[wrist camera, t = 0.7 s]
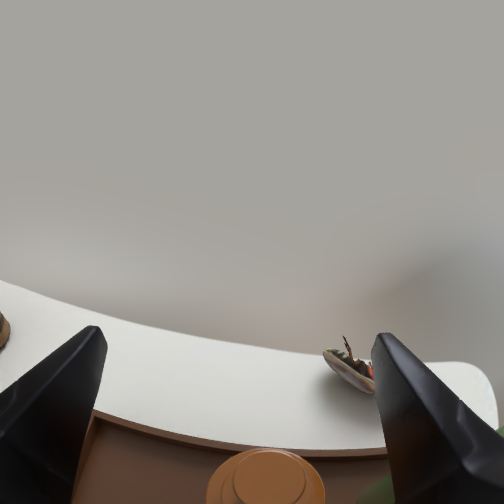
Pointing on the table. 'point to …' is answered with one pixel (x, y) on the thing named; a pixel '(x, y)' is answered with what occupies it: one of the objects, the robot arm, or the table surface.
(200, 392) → the table surface
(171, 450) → the tray
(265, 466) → the amber bottle
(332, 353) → the insect
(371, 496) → the olive bottle
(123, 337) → the table surface
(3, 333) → the cup
